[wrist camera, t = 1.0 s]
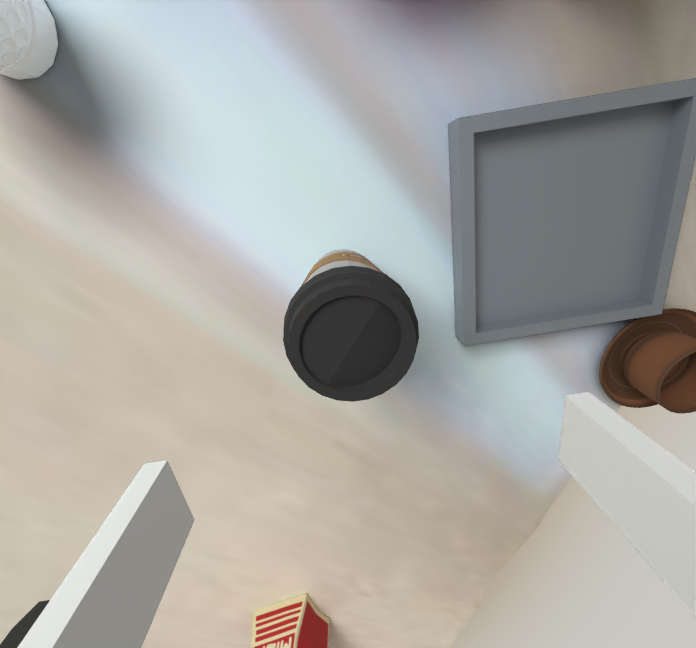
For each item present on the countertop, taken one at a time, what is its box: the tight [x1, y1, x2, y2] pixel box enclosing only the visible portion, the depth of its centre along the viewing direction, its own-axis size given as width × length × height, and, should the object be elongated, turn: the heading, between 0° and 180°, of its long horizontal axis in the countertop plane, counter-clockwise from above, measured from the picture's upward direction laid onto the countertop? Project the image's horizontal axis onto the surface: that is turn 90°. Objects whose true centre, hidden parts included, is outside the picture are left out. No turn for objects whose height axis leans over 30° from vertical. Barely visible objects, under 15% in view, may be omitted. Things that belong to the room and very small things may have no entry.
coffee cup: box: [283, 250, 419, 401], centre depth 26 cm, size 8×8×15 cm
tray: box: [448, 78, 696, 346], centre depth 31 cm, size 20×20×2 cm
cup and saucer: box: [599, 308, 696, 413], centre depth 35 cm, size 12×12×6 cm
